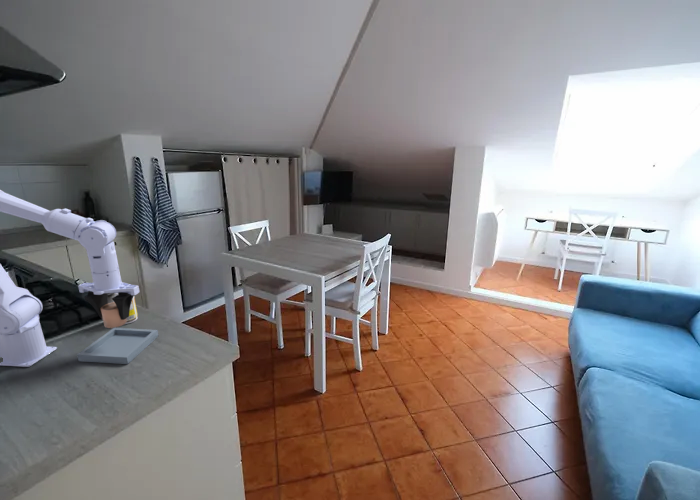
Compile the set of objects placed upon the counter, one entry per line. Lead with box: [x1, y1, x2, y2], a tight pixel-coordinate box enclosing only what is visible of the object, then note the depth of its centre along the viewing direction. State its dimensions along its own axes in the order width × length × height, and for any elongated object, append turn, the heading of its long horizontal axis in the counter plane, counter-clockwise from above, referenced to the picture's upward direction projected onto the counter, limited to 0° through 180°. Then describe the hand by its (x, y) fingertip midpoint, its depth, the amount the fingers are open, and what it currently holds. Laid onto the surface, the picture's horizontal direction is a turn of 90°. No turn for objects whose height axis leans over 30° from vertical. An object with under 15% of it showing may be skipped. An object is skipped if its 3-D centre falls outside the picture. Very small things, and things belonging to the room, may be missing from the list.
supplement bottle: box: [113, 293, 139, 325], centre depth 102 cm, size 6×6×10 cm
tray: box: [76, 327, 159, 365], centre depth 89 cm, size 13×13×2 cm
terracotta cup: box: [101, 302, 127, 329], centre depth 87 cm, size 5×6×5 cm
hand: (115, 317), depth 87 cm, fingers closed on terracotta cup, 5 cm apart
